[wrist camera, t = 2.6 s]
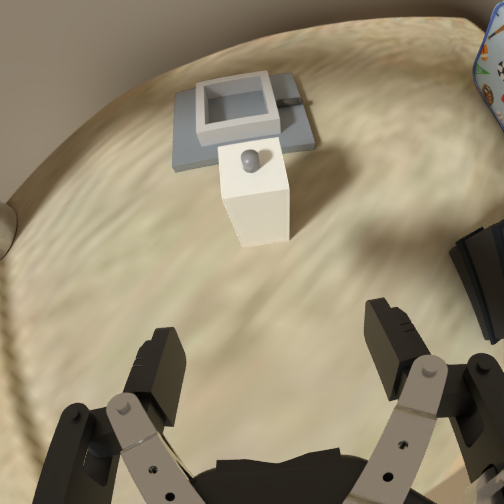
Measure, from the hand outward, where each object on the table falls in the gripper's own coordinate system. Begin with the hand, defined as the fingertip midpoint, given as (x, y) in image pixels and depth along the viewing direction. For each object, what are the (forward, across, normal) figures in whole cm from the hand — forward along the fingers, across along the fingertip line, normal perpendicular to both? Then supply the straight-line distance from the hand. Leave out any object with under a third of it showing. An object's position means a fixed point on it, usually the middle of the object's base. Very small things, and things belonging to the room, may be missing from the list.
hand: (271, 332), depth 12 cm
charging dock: (+29, +1, -8) cm, 30 cm away
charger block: (+19, 0, +2) cm, 19 cm away
